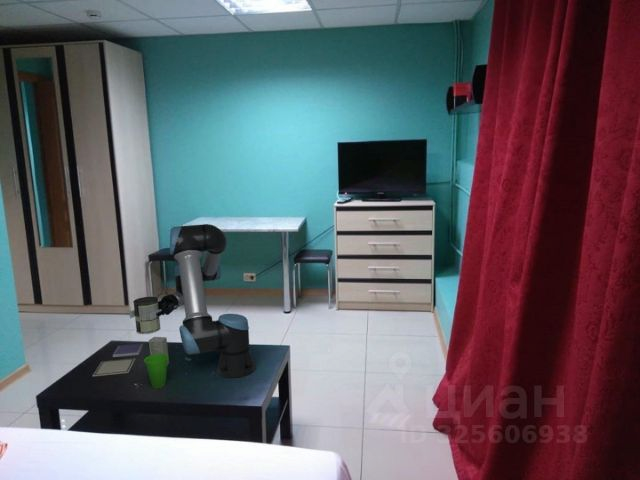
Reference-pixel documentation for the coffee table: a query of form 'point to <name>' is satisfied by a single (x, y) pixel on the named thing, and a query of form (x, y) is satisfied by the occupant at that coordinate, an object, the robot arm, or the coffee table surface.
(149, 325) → the coffee can
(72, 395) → the coffee table surface
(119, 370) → the cream square tile
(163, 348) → the skincare box
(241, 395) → the coffee table surface
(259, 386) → the coffee table surface
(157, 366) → the cup
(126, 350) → the ink pad
